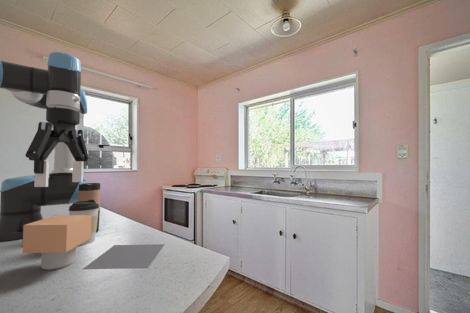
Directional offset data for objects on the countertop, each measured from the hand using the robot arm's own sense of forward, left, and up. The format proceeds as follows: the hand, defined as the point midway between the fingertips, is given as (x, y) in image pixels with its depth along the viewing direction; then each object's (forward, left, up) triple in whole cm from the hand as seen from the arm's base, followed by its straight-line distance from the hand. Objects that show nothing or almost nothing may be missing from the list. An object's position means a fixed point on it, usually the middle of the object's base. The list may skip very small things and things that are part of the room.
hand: (61, 184), depth 61 cm
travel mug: (-30, -10, -23) cm, 39 cm away
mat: (-5, +17, -23) cm, 29 cm away
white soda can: (0, 0, -23) cm, 23 cm away
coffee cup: (-17, -4, -23) cm, 29 cm away
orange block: (0, 0, -17) cm, 17 cm away
